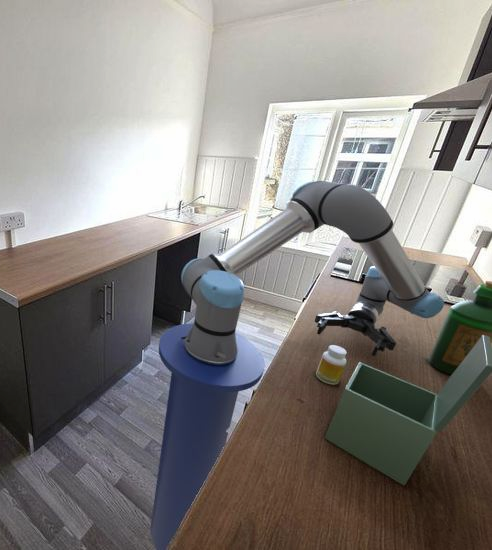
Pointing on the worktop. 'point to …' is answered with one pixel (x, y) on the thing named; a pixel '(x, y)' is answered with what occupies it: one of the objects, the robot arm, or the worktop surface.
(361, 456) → the box
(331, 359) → the supplement bottle
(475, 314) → the bottle
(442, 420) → the box lid
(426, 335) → the worktop surface
